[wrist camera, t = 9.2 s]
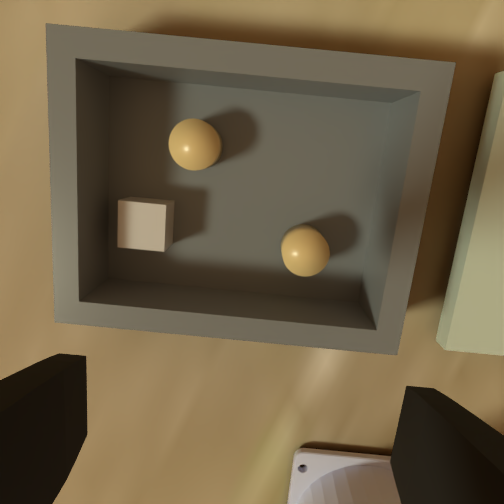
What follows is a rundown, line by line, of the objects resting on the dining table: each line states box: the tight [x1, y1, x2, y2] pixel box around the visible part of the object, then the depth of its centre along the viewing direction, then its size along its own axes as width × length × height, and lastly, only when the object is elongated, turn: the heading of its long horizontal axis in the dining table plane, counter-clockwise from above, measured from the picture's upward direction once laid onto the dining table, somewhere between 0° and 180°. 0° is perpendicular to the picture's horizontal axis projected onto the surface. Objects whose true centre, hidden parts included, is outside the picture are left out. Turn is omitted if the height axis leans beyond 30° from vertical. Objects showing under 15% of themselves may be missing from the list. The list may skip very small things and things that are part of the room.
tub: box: [46, 23, 456, 355], centre depth 16 cm, size 11×14×4 cm
